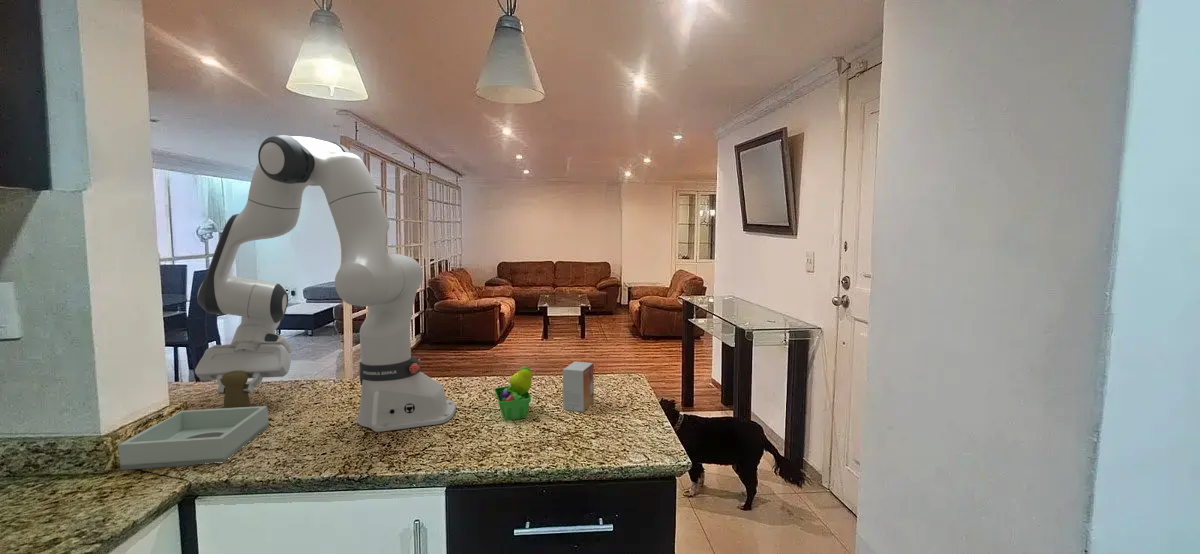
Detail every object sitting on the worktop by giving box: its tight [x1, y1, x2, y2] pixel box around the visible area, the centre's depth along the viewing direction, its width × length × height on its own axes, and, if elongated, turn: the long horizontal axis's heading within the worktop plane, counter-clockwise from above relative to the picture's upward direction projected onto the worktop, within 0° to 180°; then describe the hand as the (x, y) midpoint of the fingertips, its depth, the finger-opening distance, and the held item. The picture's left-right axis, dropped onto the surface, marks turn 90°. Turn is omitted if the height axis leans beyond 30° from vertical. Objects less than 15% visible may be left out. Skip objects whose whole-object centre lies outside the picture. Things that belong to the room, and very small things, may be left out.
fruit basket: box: [494, 366, 533, 421], centre depth 126 cm, size 11×9×11 cm
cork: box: [222, 371, 252, 408], centre depth 125 cm, size 6×6×11 cm
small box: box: [562, 361, 595, 413], centre depth 130 cm, size 8×6×10 cm
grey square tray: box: [117, 405, 270, 471], centre depth 108 cm, size 18×18×5 cm
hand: (234, 392), depth 124 cm, fingers open, 4 cm apart
